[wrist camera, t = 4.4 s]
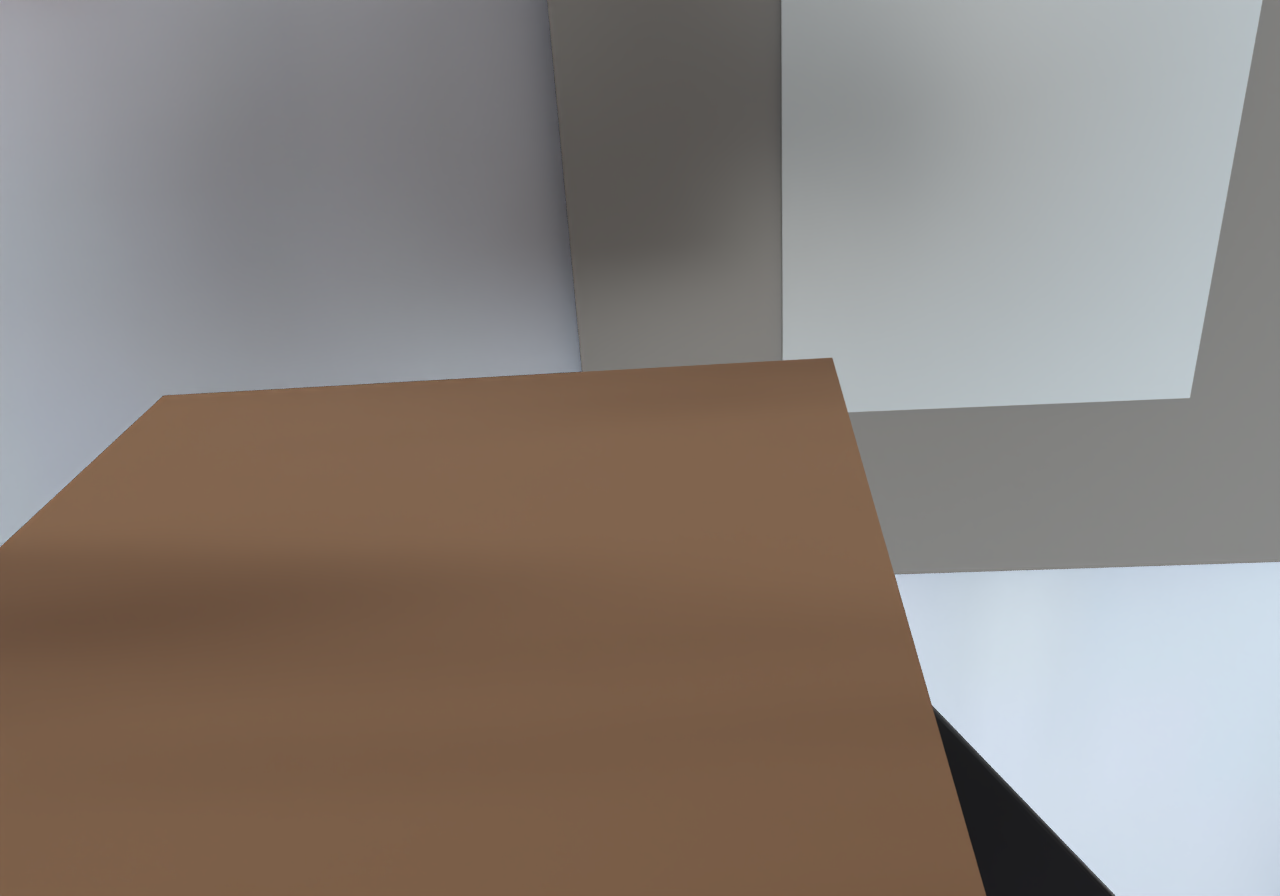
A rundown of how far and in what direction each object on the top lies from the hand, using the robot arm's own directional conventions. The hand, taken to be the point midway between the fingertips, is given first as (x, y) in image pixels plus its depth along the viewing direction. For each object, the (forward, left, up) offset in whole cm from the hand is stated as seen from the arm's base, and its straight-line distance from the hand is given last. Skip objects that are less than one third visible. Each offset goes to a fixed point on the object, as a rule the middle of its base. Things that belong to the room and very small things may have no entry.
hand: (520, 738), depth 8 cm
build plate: (+1, -6, -12) cm, 13 cm away
